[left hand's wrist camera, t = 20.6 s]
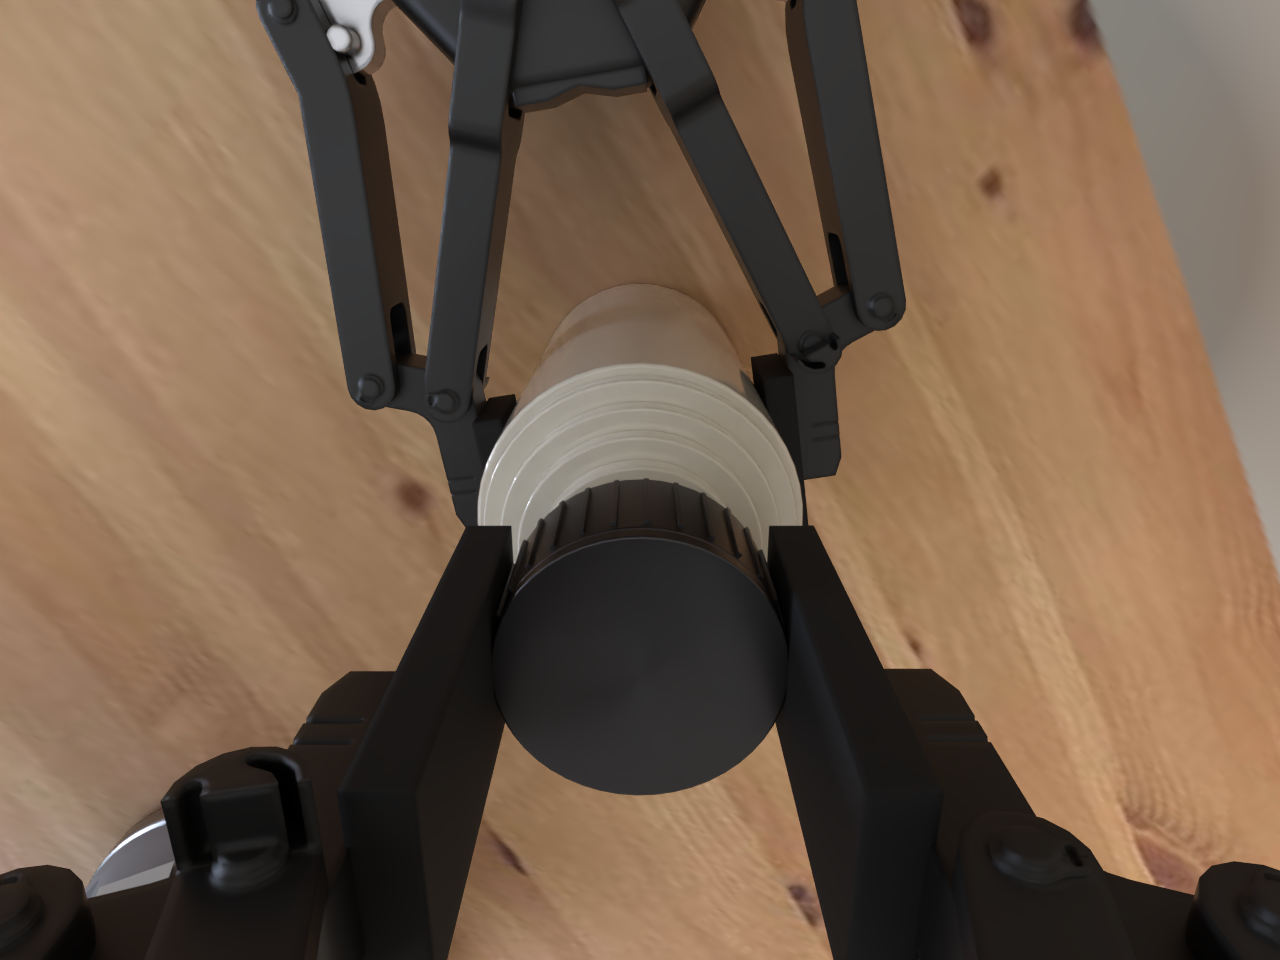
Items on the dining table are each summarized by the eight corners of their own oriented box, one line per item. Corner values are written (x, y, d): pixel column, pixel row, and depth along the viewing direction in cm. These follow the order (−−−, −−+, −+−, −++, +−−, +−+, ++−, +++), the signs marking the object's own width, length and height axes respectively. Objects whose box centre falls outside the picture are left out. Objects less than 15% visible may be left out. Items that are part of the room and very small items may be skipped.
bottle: (553, 269, 28) (429, 408, 12) (754, 298, 28) (913, 475, 12) (532, 461, 30) (405, 805, 14) (719, 486, 31) (811, 851, 14)
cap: (742, 723, 16) (760, 815, 13) (496, 691, 15) (472, 779, 13) (796, 496, 14) (825, 557, 12) (523, 456, 14) (500, 511, 12)
